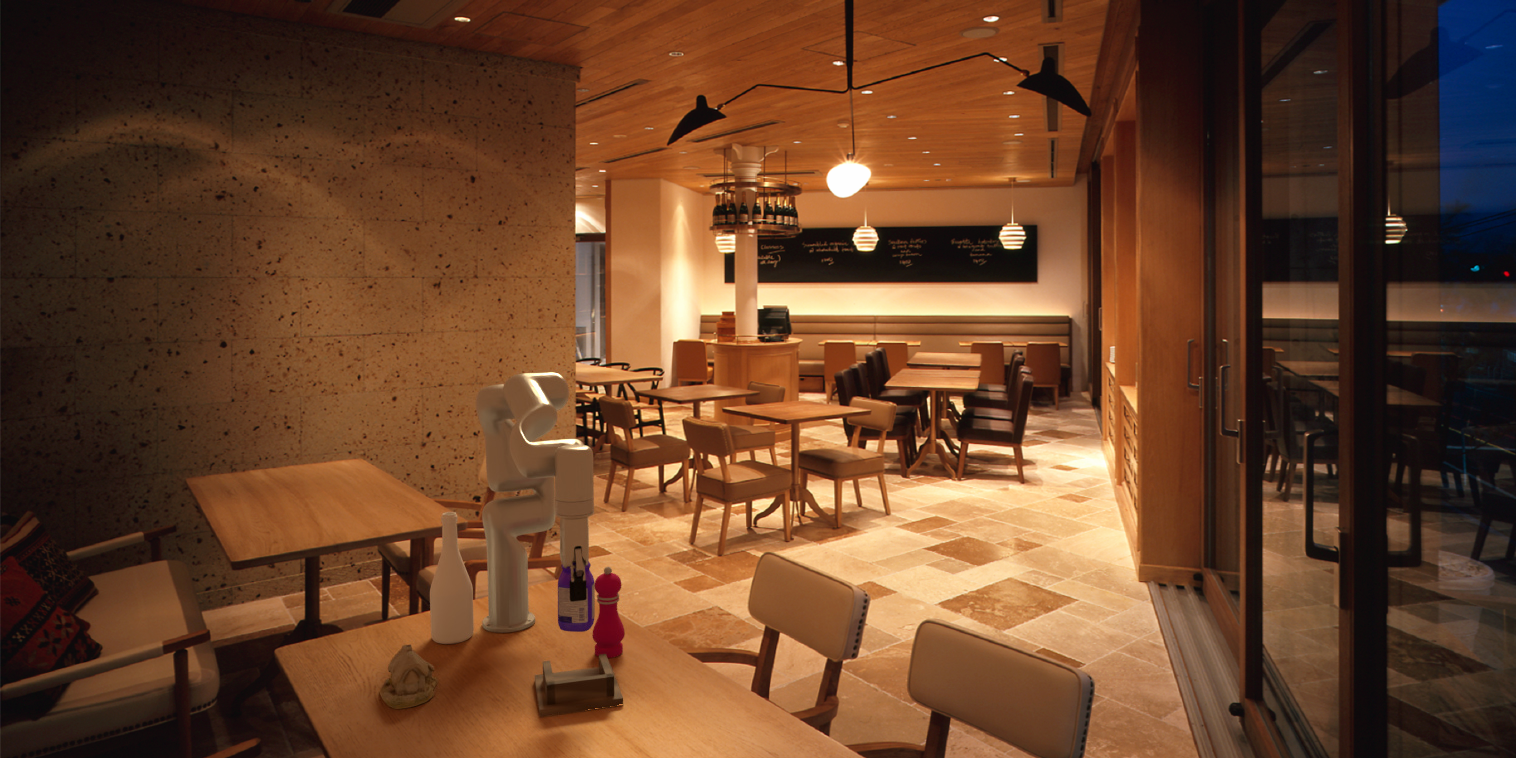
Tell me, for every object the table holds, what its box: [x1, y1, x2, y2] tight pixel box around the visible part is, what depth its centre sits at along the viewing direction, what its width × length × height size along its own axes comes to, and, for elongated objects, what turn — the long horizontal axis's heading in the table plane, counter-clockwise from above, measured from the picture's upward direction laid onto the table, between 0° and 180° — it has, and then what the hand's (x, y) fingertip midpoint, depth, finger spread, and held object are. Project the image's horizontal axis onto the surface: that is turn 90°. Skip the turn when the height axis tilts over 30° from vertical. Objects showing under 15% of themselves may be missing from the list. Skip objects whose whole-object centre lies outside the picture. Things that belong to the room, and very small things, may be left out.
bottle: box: [557, 552, 596, 633], centre depth 172 cm, size 7×6×17 cm
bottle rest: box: [534, 654, 624, 718], centre depth 174 cm, size 16×16×6 cm
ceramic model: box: [379, 644, 438, 710], centre depth 174 cm, size 14×11×10 cm
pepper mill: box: [592, 566, 626, 659], centre depth 194 cm, size 7×7×20 cm
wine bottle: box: [429, 511, 475, 645], centre depth 202 cm, size 10×10×30 cm
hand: (576, 593), depth 172 cm, fingers closed on bottle, 6 cm apart
